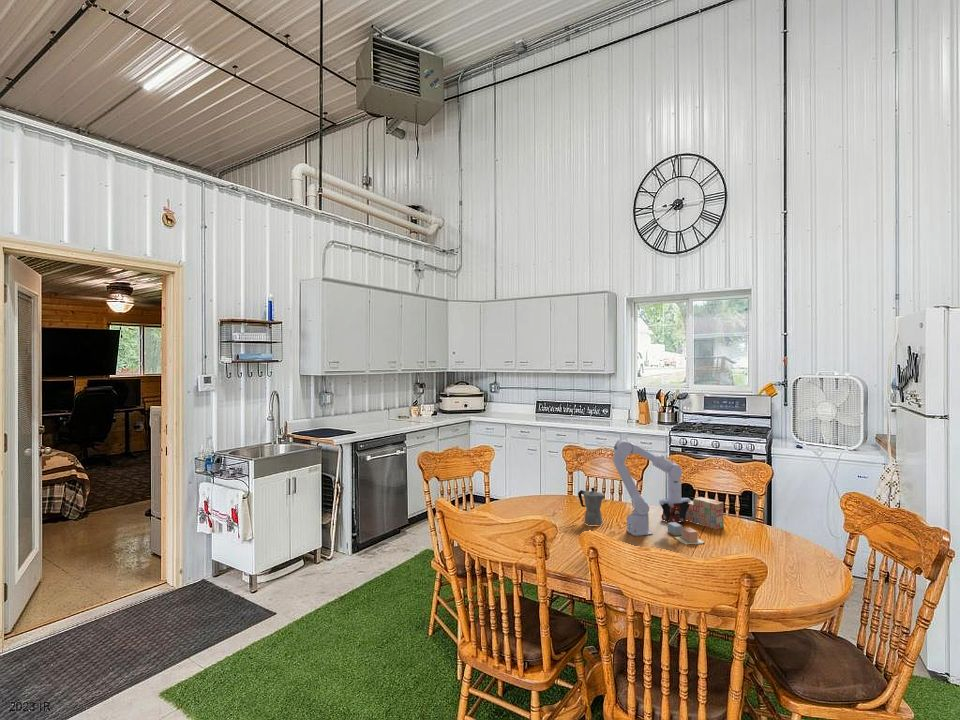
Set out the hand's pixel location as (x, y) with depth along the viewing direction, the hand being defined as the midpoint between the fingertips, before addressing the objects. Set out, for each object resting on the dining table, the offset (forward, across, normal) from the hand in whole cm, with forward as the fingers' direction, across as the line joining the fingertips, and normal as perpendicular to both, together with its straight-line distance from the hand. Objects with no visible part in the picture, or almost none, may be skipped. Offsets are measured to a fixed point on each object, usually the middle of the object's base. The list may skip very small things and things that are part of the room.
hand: (675, 519), depth 235 cm
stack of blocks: (+7, +21, +12) cm, 25 cm away
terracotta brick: (+6, 0, -11) cm, 12 cm away
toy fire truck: (+7, +9, +16) cm, 20 cm away
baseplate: (+7, 0, -10) cm, 13 cm away
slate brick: (+7, 0, 0) cm, 7 cm away
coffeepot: (+7, -32, +22) cm, 40 cm away
